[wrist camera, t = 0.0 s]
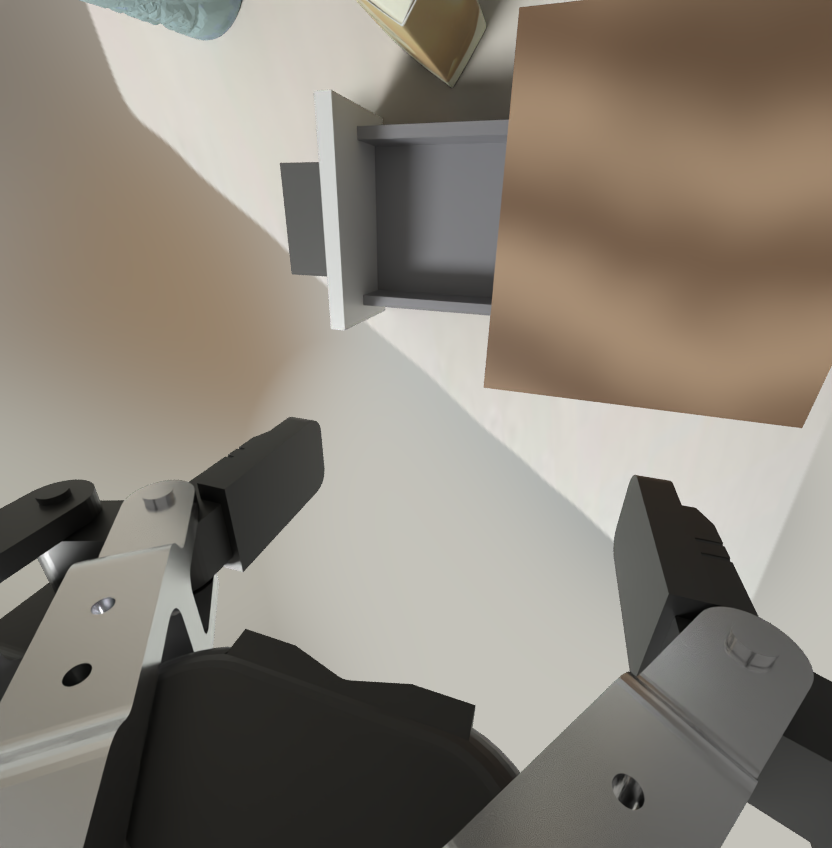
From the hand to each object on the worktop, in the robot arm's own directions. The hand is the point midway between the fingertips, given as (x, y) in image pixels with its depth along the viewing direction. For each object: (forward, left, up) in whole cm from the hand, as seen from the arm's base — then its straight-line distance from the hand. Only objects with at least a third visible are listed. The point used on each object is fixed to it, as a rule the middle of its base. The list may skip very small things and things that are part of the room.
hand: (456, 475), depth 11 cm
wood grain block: (-5, +6, -29) cm, 30 cm away
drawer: (-5, -10, -29) cm, 31 cm away
